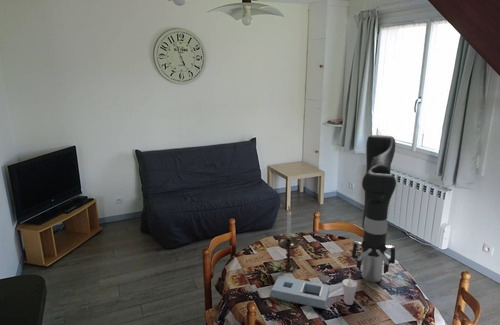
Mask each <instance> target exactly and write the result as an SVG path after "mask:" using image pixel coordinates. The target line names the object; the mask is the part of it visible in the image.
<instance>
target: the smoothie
mask: <svg viewBox="0 0 500 325" xmlns="http://www.w3.org/2000/svg"><path fill="white" fill-rule="evenodd" d="M348 274H349V276H348V278H346V279H343V280H342V282H341V284H342V288H343V300H344V301H343V302H344V304H345V305H347V306H351V305H353V304H354V300H355V296H356V291H357V288H358V282H357V281H356V280H354V279H352V278H351V276H352V274H351V272H348Z"/></svg>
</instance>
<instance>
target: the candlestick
mask: <svg viewBox="0 0 500 325" xmlns="http://www.w3.org/2000/svg"><path fill="white" fill-rule="evenodd" d="M287 209H288V212H287V214H286V217H287V218H286V223H287V224H286V225H287V226H286V230H287V231H286V236H285V237H283V238H280V239H279V240H278V242H277V245H278V247H279V248H281V249H284V250H287V252H286V253H285V256H286V258H285V260H286V262H287V263H286V265H285V266H284V267H285V268H286V269H283V268H281V266H280V265H281V264H283V263H284V262H285V261H284V262H281V263H280V264H279V269H280V268H281V269H282V270H283V271H286V272H285V273H287V272H291V273H294V272H293V271H295V270H296V269H297V270H298V265H297V264H296V263H294V262H291V261H292V259H291V257H292V253H291V250H296V249H298V248H299V247H300V240H298V239H296V238H293V236H291V235H292V234H291V233H292V212H291V206H290V205H288V208H287ZM282 270H281V271H282ZM297 270H296V271H297ZM283 271H282V272H283ZM296 271H295V272H296Z"/></svg>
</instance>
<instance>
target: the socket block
mask: <svg viewBox="0 0 500 325" xmlns="http://www.w3.org/2000/svg"><path fill="white" fill-rule="evenodd" d="M330 287H331V285H330V284H325V283H321V282H319V283H318V282H313V281H309V280H308V281H307V280H303V279H298V278H293V277H288V276H281V275H278V276H277V278H276V281H275V282H274V283H273V286H272V288H271V298H272V297H273V298H272V299H276V298H277V299H276V300H282V301H286V302H289V303H295V304H301V305H305V306H310V307H313V308H318V309H324V310H326V308H327V303H328V299H329V294H330ZM305 292H308V293H305ZM309 293H313V294H309ZM315 294H318V295H315Z"/></svg>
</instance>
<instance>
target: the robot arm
mask: <svg viewBox="0 0 500 325" xmlns="http://www.w3.org/2000/svg"><path fill="white" fill-rule="evenodd" d="M395 139H396V138H394V137H393V135H392V136H391V135H383V134H380V135H379V134H370V135H369V136H368V137H367V140H366V149H365V150H366V152H365V153H366V156H365V157H366V172H365V174H364V176H363V178H362V182H361V185H362V189H363V191H364V207H363V208H364V209H363V215H362V225H361V226H362V230H363V234H362V242H359V241H357V240H356V239H355V240H354V241H353V246H352V252H351V258H352V259H356V268H357V269H358V270H359V271H361V277H362V279H363V280H365V281H366V282H370V283H378V282H380V281H381V280H382V277H383V274H387V273H388V272H389V266H390V264H393V265H394V264H396V247H395V245H394V244H391V245H387V244H386V242H387V233H388V212H389V205H390V202H391V199H392V196H393V194H394V192H395V190H396V186H397V181H396V180H397V179H396V178H395V176H394V175H392V174H391V167H392V162H393V160H394V156H395V153H396V152H395V151H396V140H395ZM360 247H361V248H362V250H361V251H360V252H359V253H357V250H358V249H360ZM387 250H388V252H389V254H390V257H389V258H388V256H387V255H386V253H385V252H386V251H387ZM361 266H362V267H361Z"/></svg>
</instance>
